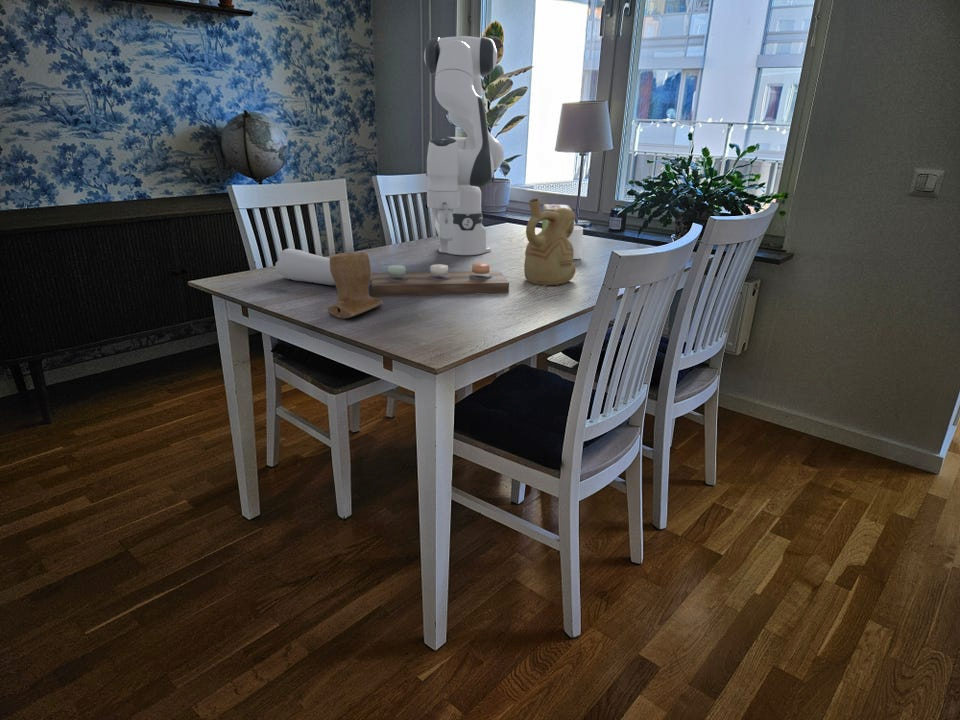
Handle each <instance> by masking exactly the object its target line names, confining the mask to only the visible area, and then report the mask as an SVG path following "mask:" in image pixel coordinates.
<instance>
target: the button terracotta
mask: <svg viewBox="0 0 960 720" xmlns="http://www.w3.org/2000/svg"><path fill="white" fill-rule="evenodd" d="M471 267H472V268H471V271H472V272H473V273H476V274H487V273H489V271H491V269H490V267H491V266H490V264H488V263H485V262H476V263H472V264H471Z"/></svg>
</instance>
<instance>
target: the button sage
mask: <svg viewBox="0 0 960 720" xmlns="http://www.w3.org/2000/svg"><path fill="white" fill-rule="evenodd" d="M406 269H407V268H406V265H404V264H403V265H401V264H394V265H393V264H391V265H388V266H387V273H388V275H390V276H403V275H406V272H407V271H406Z"/></svg>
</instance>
